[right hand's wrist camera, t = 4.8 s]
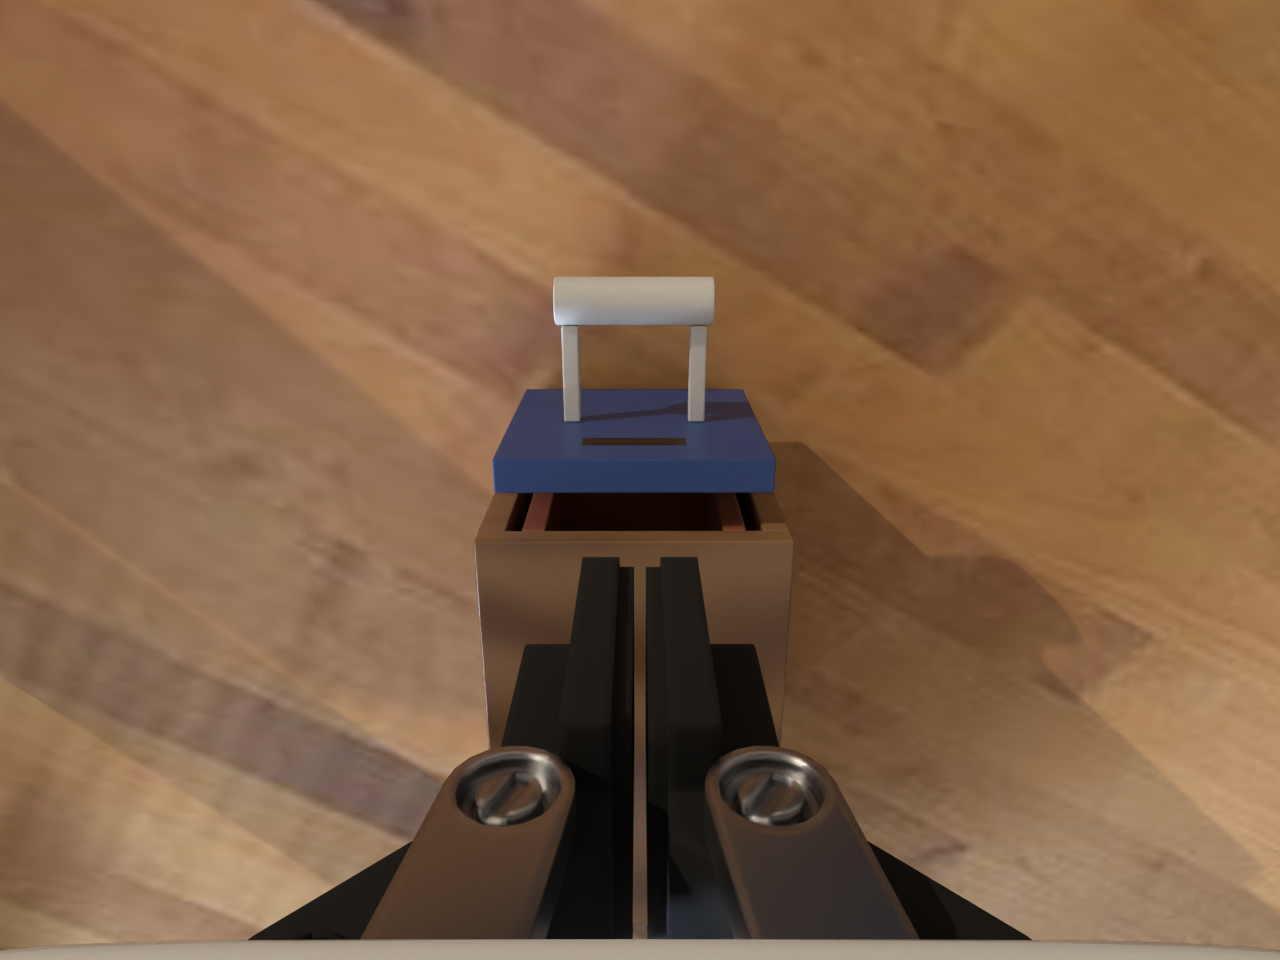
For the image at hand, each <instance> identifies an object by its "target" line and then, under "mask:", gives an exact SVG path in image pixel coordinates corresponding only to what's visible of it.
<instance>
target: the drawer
mask: <svg viewBox="0 0 1280 960" xmlns="http://www.w3.org/2000/svg"><path fill="white" fill-rule="evenodd" d="M553 307H554V319H555V323H556V325H562V327H561V333H562V365H563V389H527V390H526V392H525V394H524V396H523V398H522V400H521V402H520V404H519V406H518V408H517V410H516V412H515V415H514V417H513V419H512V421H511V423H510V425H509V427H508V429H507V431H506V433H505V435H504V437H503V439H502V441H501V443H500V445H499V447H498V449H497V451H496V454H495V456H494V458H493V460H492V464H493V480H494V492H495V493H534V494H533V498H532V501H531V504H530V507H529V510H528V514H527V517H526V520H525V523H524V526H523V530H522V531H746V528H745V524H744V521H743V518H742V514H741V511H740V508H739V505H738V501H737V498H736V495H735V493H773V492H774V484H775V467H776V459H775V457H774V455H773V453H772V451H771V448H770V446H769V444H768V442H767V440H766V438H765V436H764V434H763V432H762V429H761V427H760V425H759V423H758V421H757V419H756V417H755V415H754V413H753V411H752V408H751V406H750V404H749V402H748V400H747V398H746V396H745V394H744V392H743V390H742V389H705V385H706V348H707V326H706V325H712V324H713V321H714V311H715V284H714V278H713V277H555V279H554V286H553ZM579 325H690V326H689V375H688V389H580V348H579Z"/></svg>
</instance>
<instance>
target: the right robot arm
mask: <svg viewBox="0 0 1280 960" xmlns="http://www.w3.org/2000/svg"><path fill="white" fill-rule="evenodd" d="M634 739H635V714H634V567H620V557H583V558H582V564H581V571H580V578H579V584H578V591H577V598H576V605H575V612H574V619H573V626H572V632H571V639H570V644H526V645H525V648H524V651H523V656H522V660H521V664H520V668H519V672H518V677H517V681H516V685H515V689H514V693H513V697H512V702H511V706H510V710H509V714H508V718H507V723H506V727H505V731H504V735H503V739H502V744H501V747H500V748H495V749H491V750H487V751H484V752H482V753H480V754H477V755H475V756H473V757H470V758H469V759H467V760H466V761H465V762H463V763H462V764H460V765H459V766H458V767H456V768H455V769H454V770H453V772H452V773H451V774H450V775H449V777H448V778H447V779H446V781H445V782H444V784H443V786H442V788H441V789H440V791H439V793H438V795H437V797H436V799H435V801H434V802H433V804H432V806H431V808H430V810H429V812H428V814H427V816H426V817H425V819H424V821H423V823H422V825H421V827H420V829H419V830H418V832H417V834H416V836H415V838H414V840H413V841H412V842H410V843H408V844H407V845H405V846H403V847H402V848H400V849H398V850H397V851H395V852H393V853H392V854H390V855H388V856H386V857H385V858H383V859H381V860H380V861H378V862H376V863H375V864H373V865H371V866H370V867H368V868H366V869H365V870H363V871H361V872H360V873H358V874H356V875H355V876H353V877H351V878H350V879H348V880H346V881H345V882H343V883H341V884H340V885H338V886H336V887H334V888H333V889H331V890H329V891H328V892H326V893H324V894H323V895H321V896H319V897H318V898H316V899H314V900H313V901H311V902H309V903H308V904H306V905H304V906H303V907H301V908H299V909H298V910H296V911H294V912H293V913H291V914H289V915H288V916H286V917H284V918H283V919H281V920H279V921H277V922H276V923H274V924H272V925H271V926H269V927H267V928H266V929H264V930H262V931H261V932H259V933H257V934H256V935H254V936H253V937H251V938H250V939H248V940H215V941H149V942H122V943H96V944H70V945H45V946H36V947H27V948H18V949H9V950H0V960H1280V950H1271V949H1262V948H1253V947H1244V946H1235V945H1210V944H1184V943H1158V942H1131V941H1065V940H1032V939H1030V938H1029V937H1027V936H1026V935H1024V934H1023V933H1021V932H1019V931H1018V930H1016V929H1014V928H1013V927H1011V926H1009V925H1008V924H1006V923H1004V922H1003V921H1001V920H999V919H997V918H996V917H994V916H992V915H991V914H989V913H987V912H986V911H984V910H982V909H981V908H979V907H977V906H976V905H974V904H972V903H971V902H969V901H967V900H966V899H964V898H962V897H961V896H959V895H957V894H956V893H954V892H952V891H951V890H949V889H947V888H946V887H944V886H942V885H940V884H939V883H937V882H935V881H934V880H932V879H930V878H929V877H927V876H925V875H924V874H922V873H920V872H919V871H917V870H915V869H914V868H912V867H910V866H909V865H907V864H905V863H904V862H902V861H900V860H899V859H897V858H895V857H894V856H892V855H890V854H888V853H887V852H885V851H883V850H882V849H880V848H878V847H877V846H875V845H873V844H872V843H870V842H868V841H867V840H866V838H865V836H864V834H863V832H862V830H861V829H860V827H859V825H858V823H857V821H856V819H855V817H854V816H853V814H852V812H851V810H850V808H849V806H848V804H847V802H846V801H845V799H844V797H843V795H842V793H841V791H840V789H839V788H838V786H837V784H836V782H835V781H834V779H833V778H832V777H831V775H830V774H829V773H828V772H827V770H826V769H825V768H824V767H822V766H821V765H820V764H818V763H817V762H815V761H814V760H813V759H811V758H810V757H807V756H805V755H803V754H800V753H798V752H796V751H793V750H789V749H785V748H780V747H779V744H778V739H777V735H776V731H775V727H774V723H773V718H772V714H771V710H770V706H769V702H768V697H767V693H766V689H765V685H764V681H763V677H762V672H761V668H760V664H759V660H758V656H757V651H756V648H755V645H754V644H710V639H709V632H708V626H707V619H706V612H705V605H704V598H703V591H702V584H701V578H700V571H699V564H698V558H697V557H660V567H646V714H645V739H646V848H647V939H633V848H634Z"/></svg>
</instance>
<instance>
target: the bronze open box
mask: <svg viewBox="0 0 1280 960" xmlns="http://www.w3.org/2000/svg"><path fill="white" fill-rule="evenodd" d="M533 494H534V493H495V494H494V496H493V499H492V501H491V503H490V506H489V508H488V510H487V513H486V515H485V517H484V519H483V522H482V524H481V526H480V529H479V532H478V534H477V536H476V539H475V541H474V553H475V566H476V580H477V593H478V607H479V620H480V634H481V647H482V661H483V675H484V688H485V702H486V715H487V729H488V742H489V750H491V749H495V748H500V747H501V744H502V739H503V735H504V731H505V727H506V723H507V718H508V714H509V710H510V706H511V702H512V697H513V693H514V689H515V685H516V681H517V677H518V672H519V668H520V664H521V660H522V656H523V651H524V648H525V645H526V644H570V639H571V632H572V626H573V619H574V612H575V605H576V598H577V591H578V584H579V578H580V571H581V564H582V558H583V557H620V567H634V714H635V739H634V848H633V925H638V924H647V848H646V739H645V714H646V567H660V557H697V558H698V564H699V571H700V578H701V584H702V591H703V598H704V605H705V612H706V619H707V626H708V632H709V639H710V644H754V645H755V648H756V651H757V656H758V660H759V664H760V668H761V672H762V677H763V681H764V685H765V689H766V693H767V697H768V702H769V706H770V710H771V714H772V718H773V723H774V727H775V731H776V735H777V739H778V744H779V747H780V746H781V732H782V717H783V703H784V688H785V674H786V659H787V645H788V630H789V616H790V601H791V587H792V572H793V558H794V544H795V542H794V540H793V537H792V535H791V533H790V530H789V528H788V525H787V523H786V521H785V518H784V516H783V514H782V511H781V509H780V506H779V504H778V502H777V499H776V497H775V495H774V492H773V493H735V495H736V498H737V501H738V505H739V508H740V511H741V514H742V518H743V521H744V524H745V528H746V531H522V530H523V526H524V523H525V520H526V517H527V514H528V510H529V507H530V504H531V501H532V498H533Z"/></svg>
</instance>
